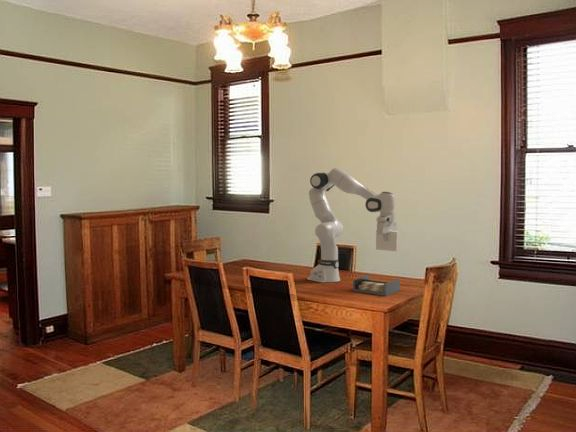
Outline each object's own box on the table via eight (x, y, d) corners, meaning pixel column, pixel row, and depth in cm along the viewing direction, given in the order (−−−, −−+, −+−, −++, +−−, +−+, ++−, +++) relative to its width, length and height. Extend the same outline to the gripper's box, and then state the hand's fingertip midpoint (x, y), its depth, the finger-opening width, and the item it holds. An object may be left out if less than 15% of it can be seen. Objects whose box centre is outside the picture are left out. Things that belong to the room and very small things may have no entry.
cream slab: (376, 249, 338) (376, 230, 337) (378, 248, 341) (378, 229, 340) (396, 251, 330) (396, 231, 329) (398, 250, 332) (398, 231, 331)
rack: (352, 291, 324) (353, 279, 324) (367, 286, 338) (367, 275, 338) (386, 296, 311) (386, 284, 310) (400, 290, 325) (400, 279, 325)
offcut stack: (358, 288, 324) (358, 282, 323) (363, 287, 328) (363, 280, 328) (382, 292, 314) (382, 285, 314) (387, 290, 318) (387, 284, 318)
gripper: (390, 216, 344) (390, 238, 345) (375, 218, 328) (374, 241, 329) (399, 217, 340) (399, 239, 341) (384, 219, 324) (384, 242, 325)
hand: (387, 240), depth 335 cm, fingers closed on cream slab, 3 cm apart
